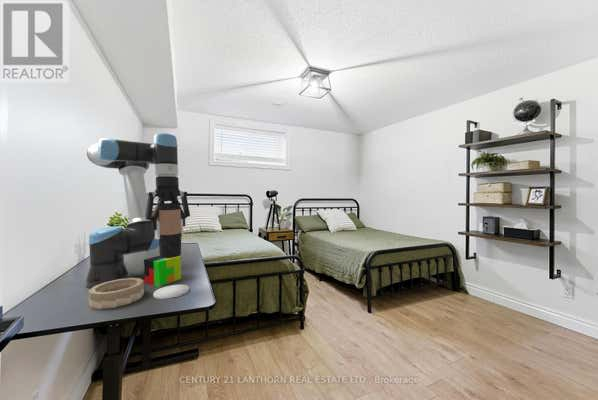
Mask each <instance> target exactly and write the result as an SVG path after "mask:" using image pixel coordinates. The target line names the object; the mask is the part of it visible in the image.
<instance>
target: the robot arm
mask: <svg viewBox="0 0 598 400" xmlns="http://www.w3.org/2000/svg"><path fill="white" fill-rule="evenodd" d="M178 146H179V145H178V139H177V137H176V136H175V135H174V134H171V133H163V132H162V133H156V134H154V137H153V143H150V142H149V143H148V142H141V141H139V142H138V141H130V140H122V139H114V138H103V137H102V138H99V139H98V142H97V143H95V144H92V145H90V146H89V147H88V148H87V150H86V156H87V159H88V160H89V161H90V162H91V163H92V164H94V165H96V166H97V167H98V166H99V167H102V168H106V169H118V173H119V175H122V176H123V185H124V191H125V199H126V205H127V206H126V208H127V213H128V223H126V226H125V227H126V228H123V226H121V225H117V226H116V225H115V226H110V227H105V228H104V227H103V228H100V229H96V230H94V231H91V232H90V233H89V235H88V245H89V269H88V273H87V275H86V278H85V281H84V282H85V287H86V288H89V289H91V288H93V287H94V286H96V285H99V284H102V283H105V282H109V281H113V280H118V279H125V278H130V271H129V269H128V268H127V267H128V266H127V265H126V263H125V257H124V256H127V255H132V254H138V253H144V252H146V253H147V252H150V251H155V250H156V249H159V239H160V226H159V221H158V216H159V206H158V203H165V202H172V203H179V202H180V201H179V199H178V196H180V199H181V204H182V206H181V205H180V209H181V237H184V227H186V219H187V218H189V217H190V216H191V213H190V212H191V211H190V208H189V202H188V198H187V197H188V192H187V191H181V190H180V188H179V187H180V185H179V184H180V183H179V177H178V176H179V165H178V164H179V163H178V161H179V159H178ZM150 165H154V167H155V168H154V170H155V171H154V173H155V174H154V175H155V186H156V187H155V190H154V191H148V192H147V189H146V182H145V174H146V173H147V170H149V168H150ZM155 196H156V197H158V199H157V203H156V206H155V208H154V209H153V207H154V199H155Z"/></svg>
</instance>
